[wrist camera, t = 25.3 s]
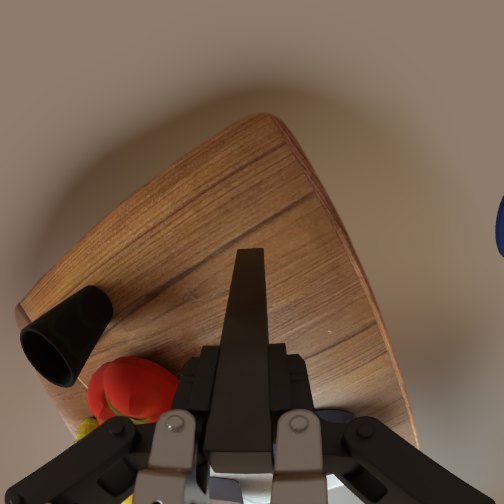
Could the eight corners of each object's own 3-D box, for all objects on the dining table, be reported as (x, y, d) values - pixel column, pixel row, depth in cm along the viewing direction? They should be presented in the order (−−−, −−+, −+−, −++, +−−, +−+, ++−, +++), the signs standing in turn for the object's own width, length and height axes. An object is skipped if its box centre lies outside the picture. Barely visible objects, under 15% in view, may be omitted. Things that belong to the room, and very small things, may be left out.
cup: (131, 316, 31) (86, 379, 19) (99, 336, 32) (57, 393, 21) (93, 267, 29) (32, 316, 18) (65, 294, 30) (12, 341, 19)
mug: (124, 448, 44) (109, 488, 32) (82, 425, 42) (63, 462, 31) (137, 431, 40) (120, 479, 29) (88, 403, 38) (64, 447, 27)
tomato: (216, 376, 34) (205, 435, 24) (168, 422, 38) (154, 467, 29) (123, 320, 31) (87, 369, 22) (95, 379, 36) (70, 420, 26)
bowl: (191, 489, 50) (186, 520, 40) (182, 469, 45) (174, 507, 35) (248, 494, 50) (246, 526, 39) (249, 476, 45) (247, 515, 34)
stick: (263, 247, 21) (273, 450, 6) (264, 271, 22) (274, 473, 7) (237, 248, 21) (201, 449, 6) (239, 272, 22) (213, 473, 7)
